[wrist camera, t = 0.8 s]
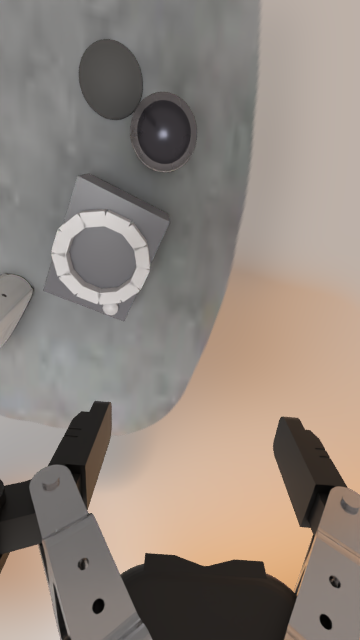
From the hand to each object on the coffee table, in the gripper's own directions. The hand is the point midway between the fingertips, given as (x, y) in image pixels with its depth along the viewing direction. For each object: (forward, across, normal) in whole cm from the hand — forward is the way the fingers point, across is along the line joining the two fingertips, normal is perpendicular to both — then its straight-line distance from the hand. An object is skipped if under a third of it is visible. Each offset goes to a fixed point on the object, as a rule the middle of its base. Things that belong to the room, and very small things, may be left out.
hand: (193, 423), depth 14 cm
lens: (+22, +4, -16) cm, 27 cm away
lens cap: (+22, +9, -20) cm, 30 cm away
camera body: (+23, +10, -5) cm, 25 cm away
